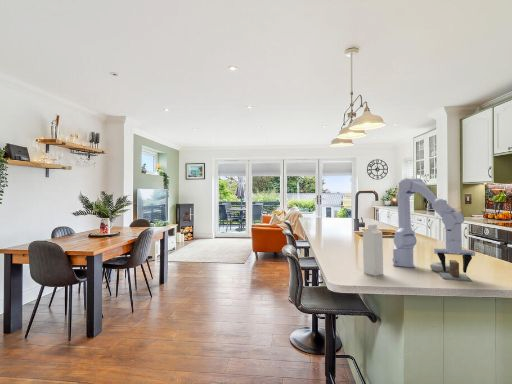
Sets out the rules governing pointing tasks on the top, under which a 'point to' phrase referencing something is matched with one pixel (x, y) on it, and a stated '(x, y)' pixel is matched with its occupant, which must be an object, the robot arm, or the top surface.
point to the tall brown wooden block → (454, 268)
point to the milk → (373, 251)
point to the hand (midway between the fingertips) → (454, 271)
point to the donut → (440, 267)
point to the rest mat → (461, 277)
